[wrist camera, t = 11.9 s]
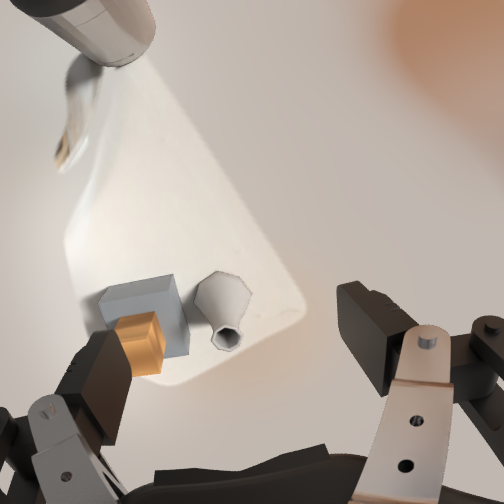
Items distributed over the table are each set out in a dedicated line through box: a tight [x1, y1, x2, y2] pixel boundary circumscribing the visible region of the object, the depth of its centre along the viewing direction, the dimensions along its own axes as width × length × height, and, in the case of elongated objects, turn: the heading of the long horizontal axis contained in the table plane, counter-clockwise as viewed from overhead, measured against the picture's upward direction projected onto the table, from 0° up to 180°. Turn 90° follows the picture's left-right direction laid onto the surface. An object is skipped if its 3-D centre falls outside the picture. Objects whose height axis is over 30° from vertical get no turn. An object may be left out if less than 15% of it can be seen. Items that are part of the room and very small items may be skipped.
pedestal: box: [98, 274, 190, 359], centre depth 38 cm, size 9×9×5 cm
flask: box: [194, 271, 252, 352], centre depth 36 cm, size 7×7×10 cm
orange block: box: [114, 311, 166, 377], centre depth 33 cm, size 4×4×6 cm
